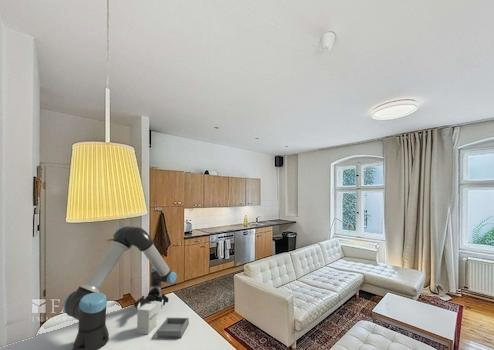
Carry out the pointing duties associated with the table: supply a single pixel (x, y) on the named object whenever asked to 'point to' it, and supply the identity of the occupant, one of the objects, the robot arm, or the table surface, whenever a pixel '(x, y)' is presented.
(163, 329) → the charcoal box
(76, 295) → the robot arm
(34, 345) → the table surface
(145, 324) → the supplement box
